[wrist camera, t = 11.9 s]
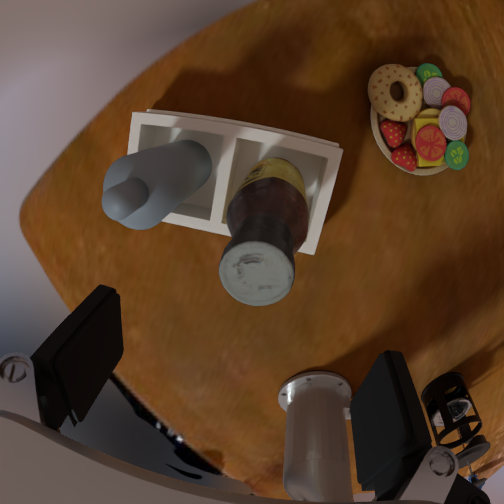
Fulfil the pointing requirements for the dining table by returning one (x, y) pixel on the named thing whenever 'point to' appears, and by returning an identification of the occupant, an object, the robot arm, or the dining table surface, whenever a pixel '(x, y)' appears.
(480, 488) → the grapes
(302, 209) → the sauce bottle
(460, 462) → the french press
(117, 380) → the dining table surface
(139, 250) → the dining table surface
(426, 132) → the toy food set
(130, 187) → the condiment caddy
